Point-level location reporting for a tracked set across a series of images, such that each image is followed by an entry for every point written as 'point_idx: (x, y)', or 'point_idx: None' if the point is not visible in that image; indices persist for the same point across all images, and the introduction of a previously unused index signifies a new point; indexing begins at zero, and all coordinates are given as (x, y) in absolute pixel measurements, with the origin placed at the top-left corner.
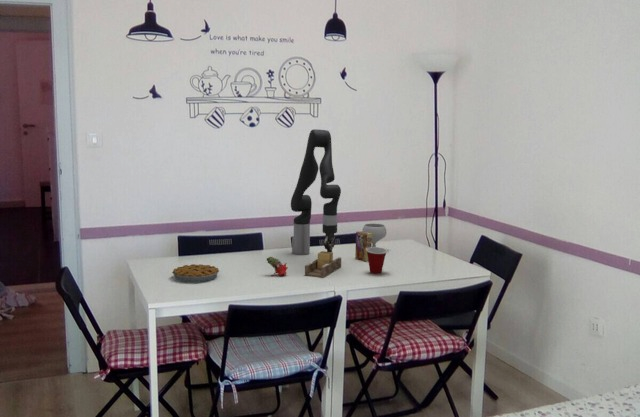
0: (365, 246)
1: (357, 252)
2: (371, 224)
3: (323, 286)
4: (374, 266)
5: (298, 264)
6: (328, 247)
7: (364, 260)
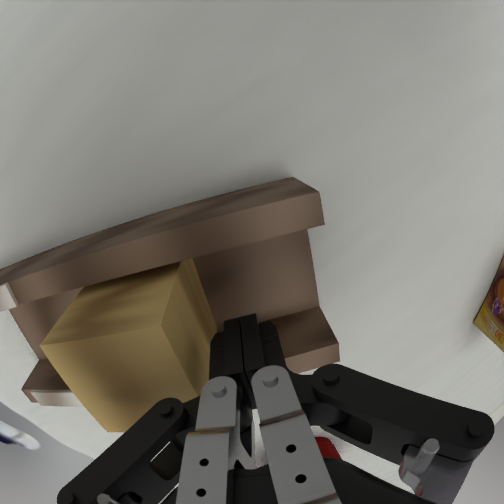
0: None
1: None
2: None
3: (9, 401)
4: None
5: (175, 8)
6: (158, 457)
7: (479, 316)
